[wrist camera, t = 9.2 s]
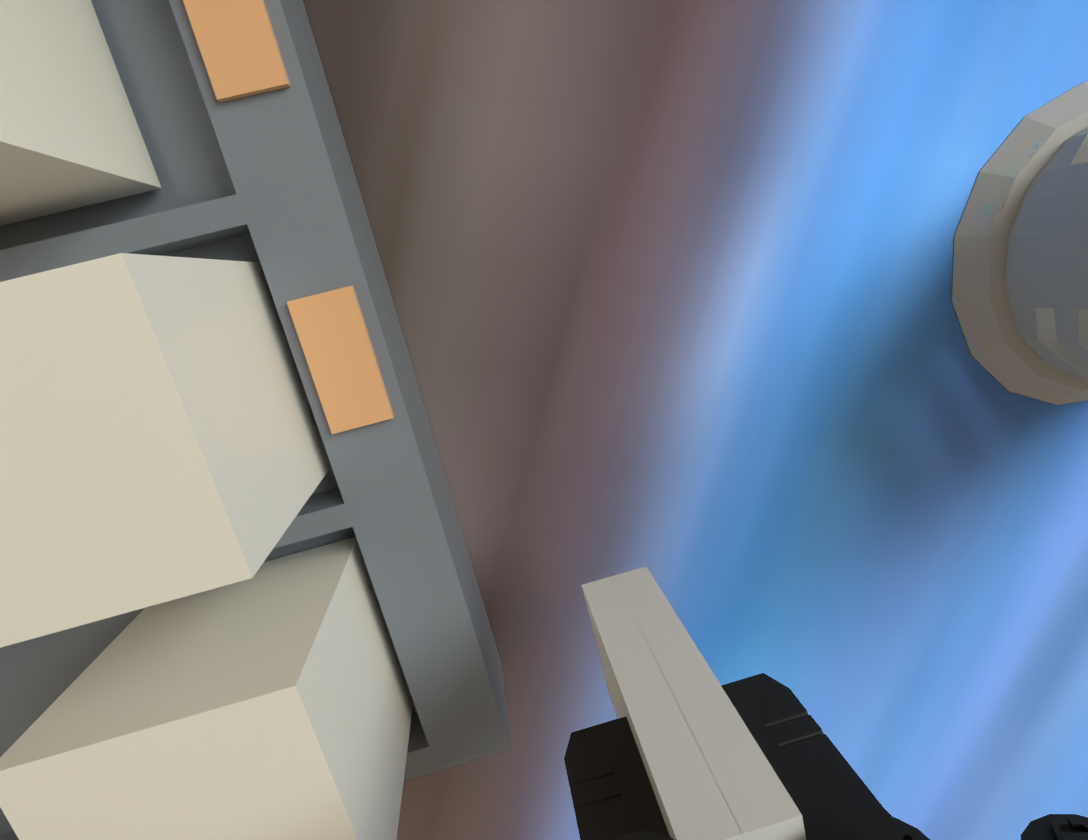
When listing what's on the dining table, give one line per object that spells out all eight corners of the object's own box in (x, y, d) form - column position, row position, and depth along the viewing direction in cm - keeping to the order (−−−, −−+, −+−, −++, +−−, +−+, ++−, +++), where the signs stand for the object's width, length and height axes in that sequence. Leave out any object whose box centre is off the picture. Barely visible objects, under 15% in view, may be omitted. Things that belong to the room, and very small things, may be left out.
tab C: (162, 589, 16) (-19, 776, 10) (357, 536, 16) (295, 685, 10) (234, 750, 17) (112, 1000, 11) (414, 697, 17) (387, 913, 11)
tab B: (40, 316, 14) (-267, 345, 8) (263, 262, 14) (121, 253, 8) (130, 518, 15) (-80, 668, 9) (332, 464, 15) (252, 578, 10)
